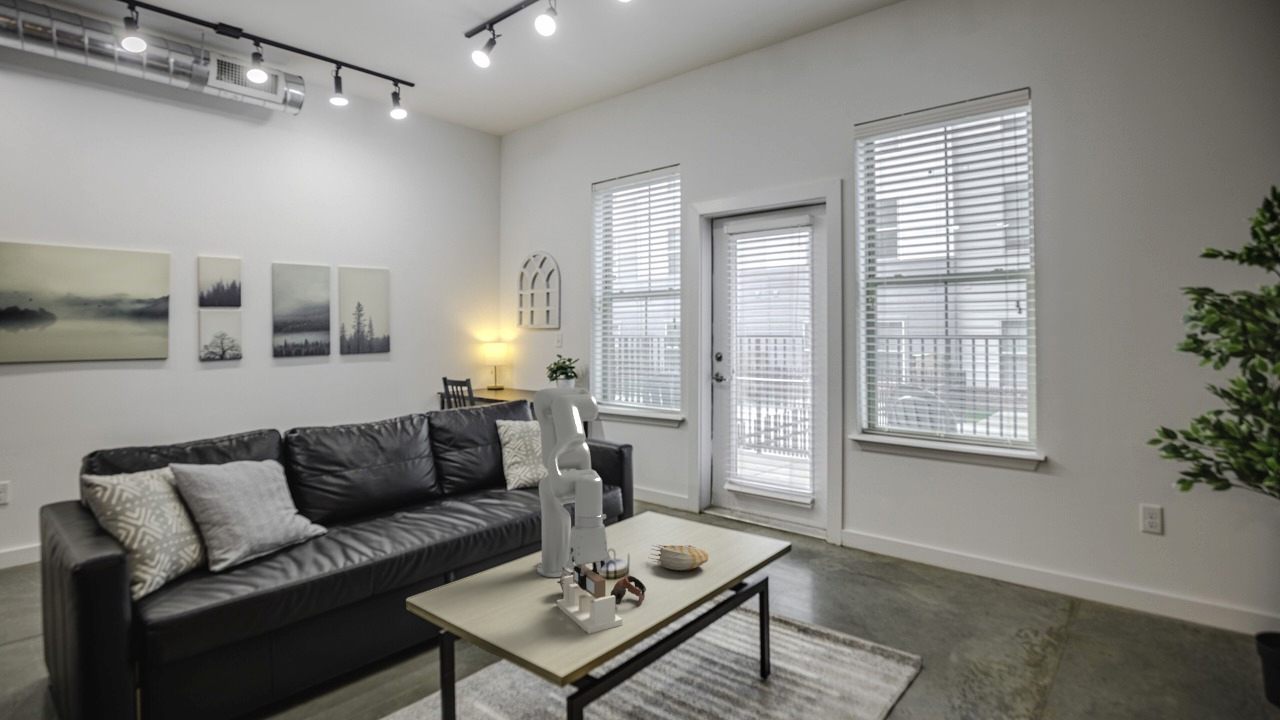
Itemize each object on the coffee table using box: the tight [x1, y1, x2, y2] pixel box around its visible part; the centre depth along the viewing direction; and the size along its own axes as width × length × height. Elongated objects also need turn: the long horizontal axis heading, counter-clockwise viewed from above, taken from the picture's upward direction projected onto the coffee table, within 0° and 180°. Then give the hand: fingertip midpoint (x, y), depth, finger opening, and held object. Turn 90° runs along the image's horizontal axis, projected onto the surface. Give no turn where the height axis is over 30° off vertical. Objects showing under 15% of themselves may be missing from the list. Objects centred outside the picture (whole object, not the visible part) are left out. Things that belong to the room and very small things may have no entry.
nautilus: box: [648, 544, 709, 571], centre depth 210 cm, size 8×22×15 cm
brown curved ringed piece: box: [610, 574, 647, 606], centre depth 180 cm, size 12×10×8 cm
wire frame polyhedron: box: [556, 567, 573, 598], centre depth 186 cm, size 9×8×10 cm
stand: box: [556, 575, 623, 635], centre depth 173 cm, size 20×10×8 cm, turn 32°
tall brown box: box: [573, 564, 606, 599], centre depth 172 cm, size 14×3×4 cm, turn 32°
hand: (588, 586), depth 172 cm, fingers closed on tall brown box, 3 cm apart
